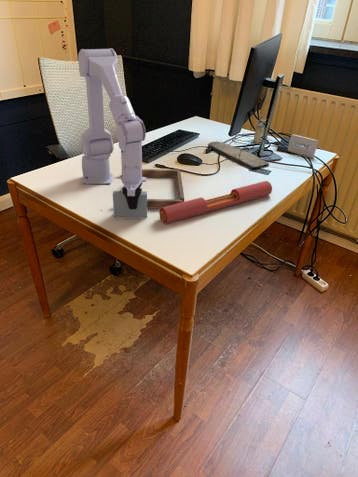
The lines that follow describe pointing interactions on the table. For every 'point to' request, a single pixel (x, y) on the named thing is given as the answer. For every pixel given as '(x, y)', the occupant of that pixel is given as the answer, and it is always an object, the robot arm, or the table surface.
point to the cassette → (301, 149)
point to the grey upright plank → (123, 209)
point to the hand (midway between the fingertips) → (133, 206)
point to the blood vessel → (214, 202)
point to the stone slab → (237, 155)
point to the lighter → (259, 131)
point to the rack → (164, 173)
